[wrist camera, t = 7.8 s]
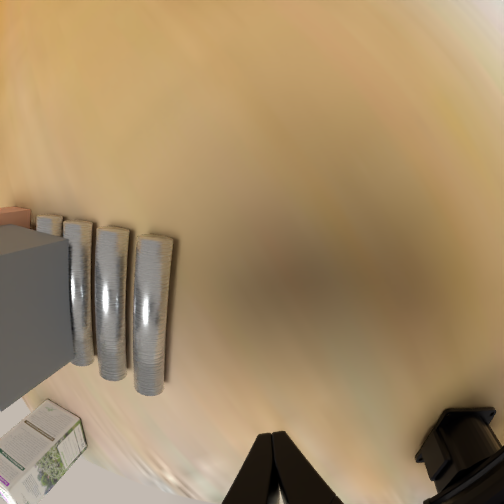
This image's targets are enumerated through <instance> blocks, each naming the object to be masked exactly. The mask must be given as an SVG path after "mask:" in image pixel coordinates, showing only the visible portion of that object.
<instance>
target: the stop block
mask: <svg viewBox="0 0 504 504" xmlns="http://www.w3.org/2000/svg"><path fill="white" fill-rule="evenodd" d="M30 217H31V210H30V209H25V208H20V207H5V208H0V226H1V225H7V224H13V225H17V226H21V227H24V228H28V229H30Z"/></svg>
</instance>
